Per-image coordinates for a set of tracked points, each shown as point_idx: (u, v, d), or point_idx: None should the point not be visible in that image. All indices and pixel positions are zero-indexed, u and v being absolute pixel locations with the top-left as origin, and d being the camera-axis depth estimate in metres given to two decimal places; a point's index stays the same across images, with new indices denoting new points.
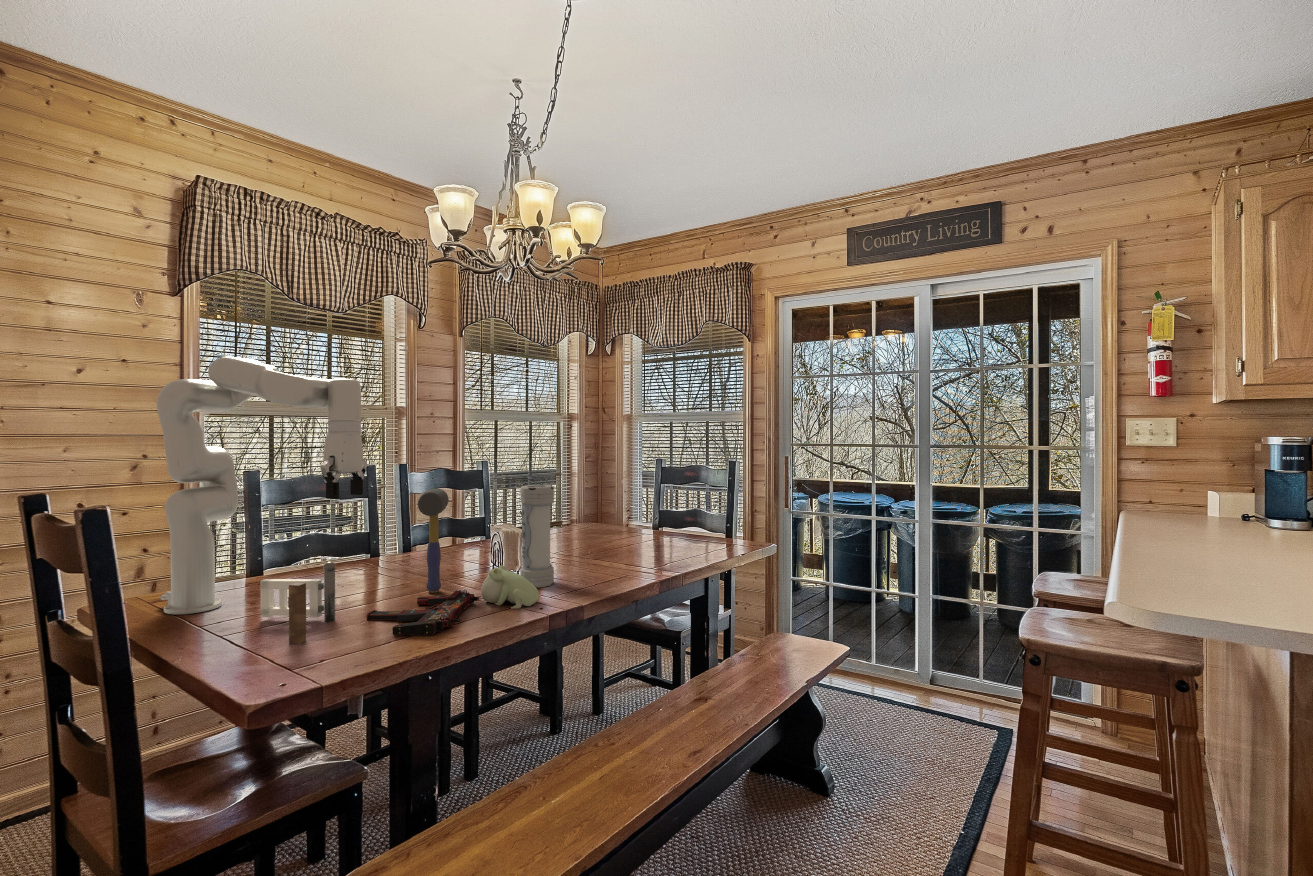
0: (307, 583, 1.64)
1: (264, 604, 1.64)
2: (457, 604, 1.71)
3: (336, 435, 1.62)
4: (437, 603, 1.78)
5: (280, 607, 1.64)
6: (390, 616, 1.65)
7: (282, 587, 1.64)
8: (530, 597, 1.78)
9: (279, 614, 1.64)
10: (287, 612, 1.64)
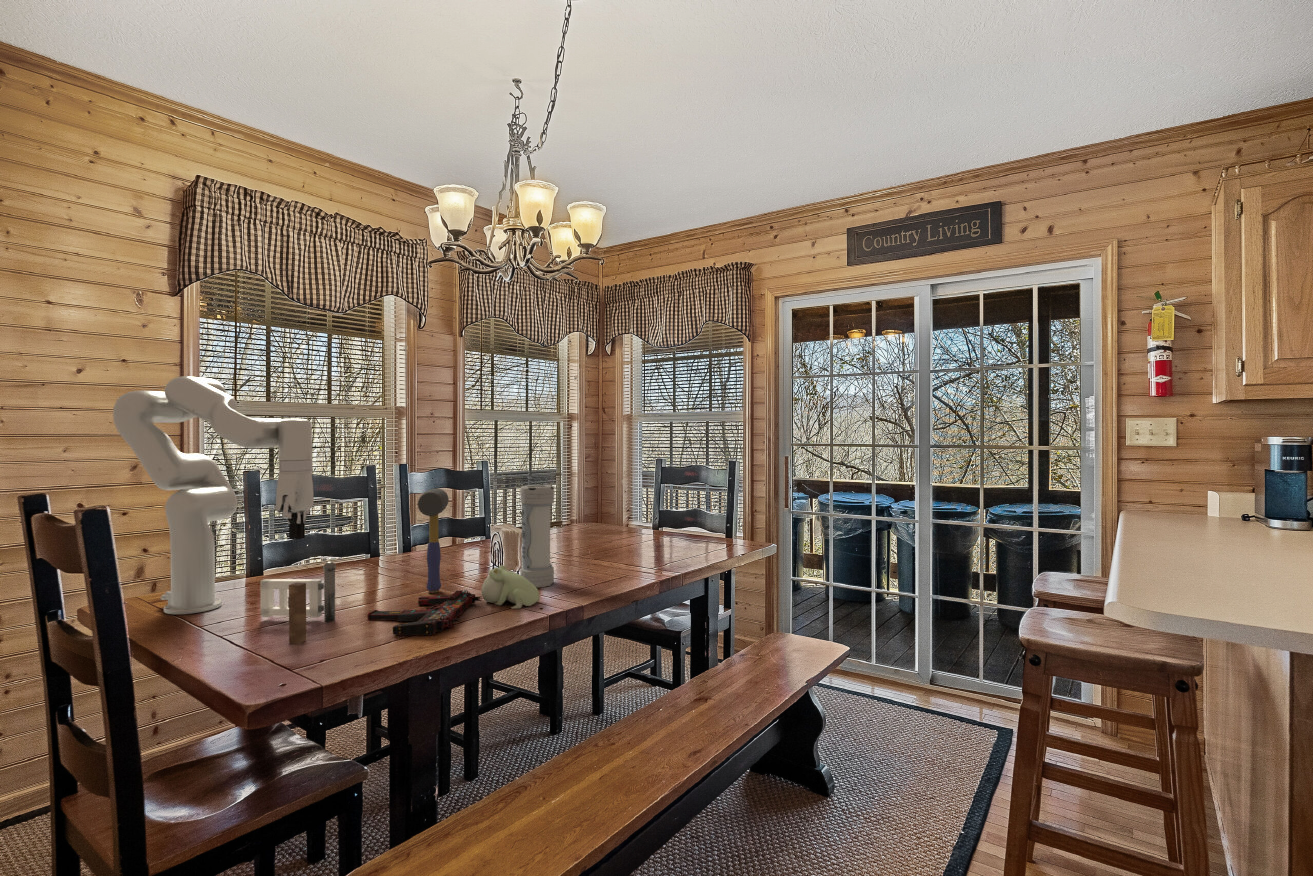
0: (307, 583, 1.64)
1: (264, 604, 1.64)
2: (458, 604, 1.71)
3: (289, 475, 1.66)
4: (438, 603, 1.79)
5: (280, 607, 1.64)
6: (391, 616, 1.65)
7: (282, 587, 1.64)
8: (531, 597, 1.78)
9: (279, 614, 1.64)
10: (287, 612, 1.64)
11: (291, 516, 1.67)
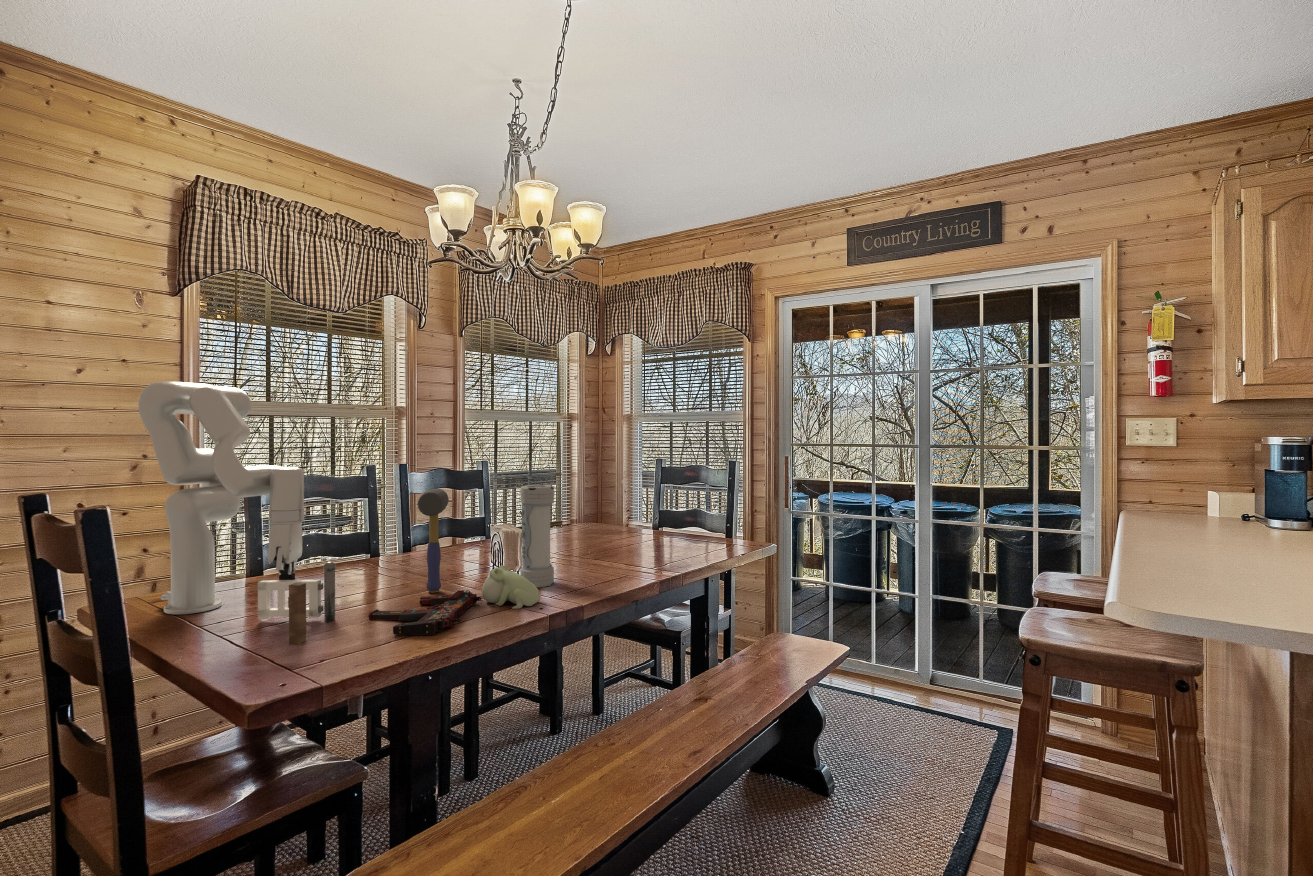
0: (307, 583, 1.63)
1: (262, 605, 1.62)
2: (459, 604, 1.72)
3: (283, 526, 1.62)
4: (439, 603, 1.79)
5: (278, 608, 1.63)
6: (392, 616, 1.65)
7: (280, 588, 1.63)
8: (531, 598, 1.78)
9: (277, 615, 1.63)
10: (286, 613, 1.63)
11: (284, 567, 1.63)
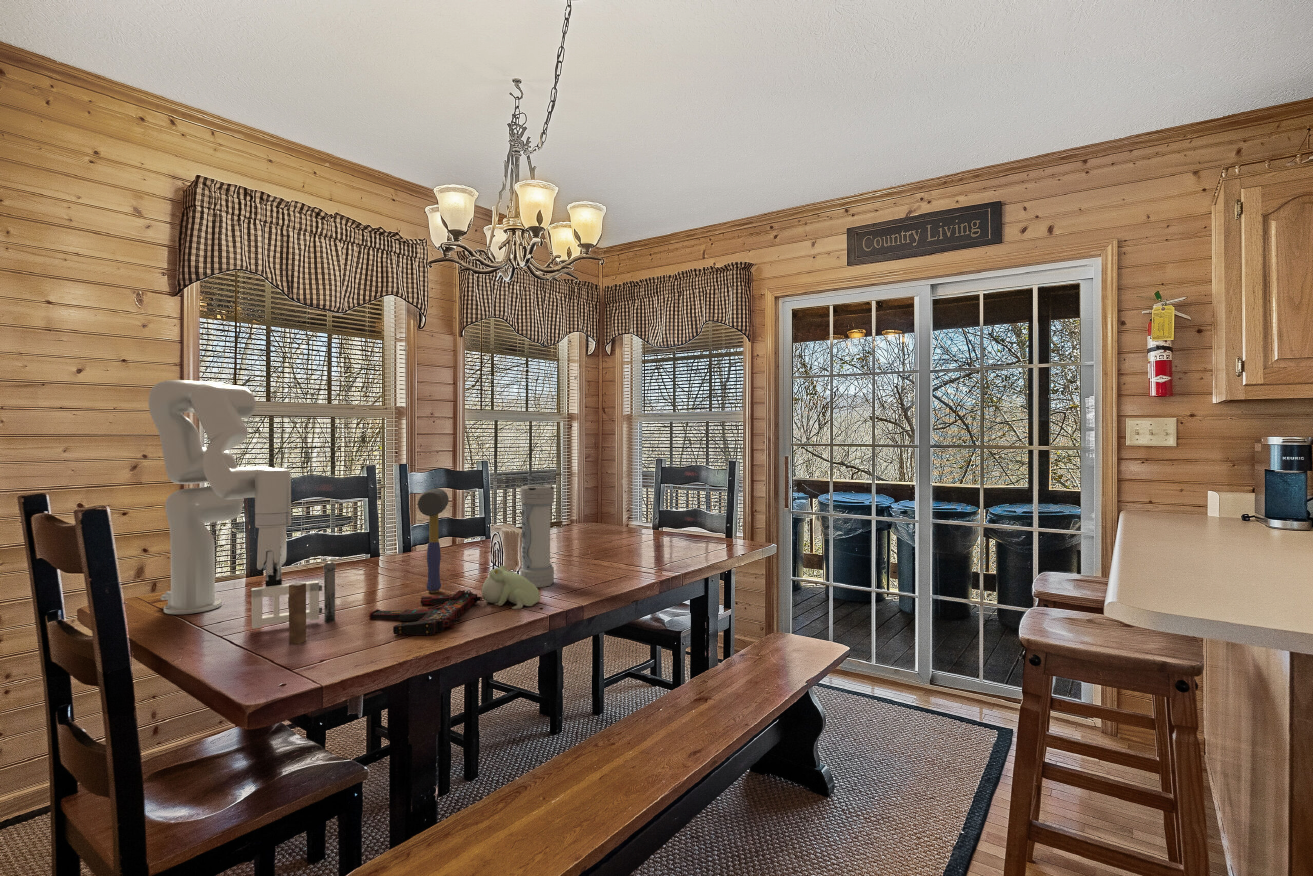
0: (307, 586, 1.61)
1: (256, 614, 1.55)
2: (459, 604, 1.72)
3: (273, 529, 1.57)
4: (440, 603, 1.79)
5: (274, 615, 1.58)
6: (392, 615, 1.65)
7: (278, 593, 1.58)
8: (532, 598, 1.78)
9: (275, 622, 1.57)
10: (284, 618, 1.58)
11: (273, 572, 1.58)
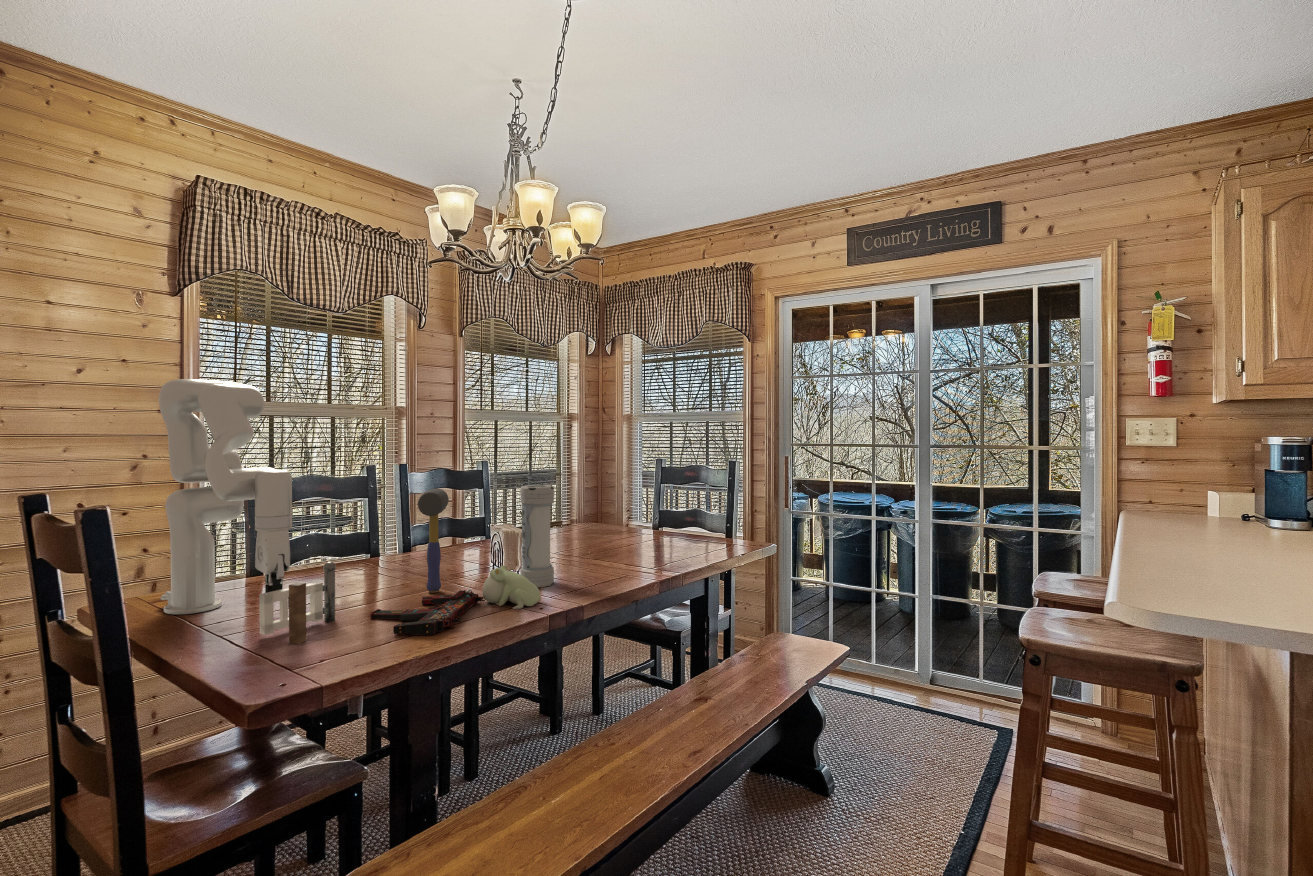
0: (312, 587, 1.60)
1: (268, 619, 1.51)
2: (460, 604, 1.72)
3: (283, 532, 1.53)
4: (441, 603, 1.79)
5: (283, 619, 1.54)
6: (393, 615, 1.65)
7: (287, 597, 1.55)
8: (532, 598, 1.78)
9: (284, 626, 1.54)
10: None
11: None
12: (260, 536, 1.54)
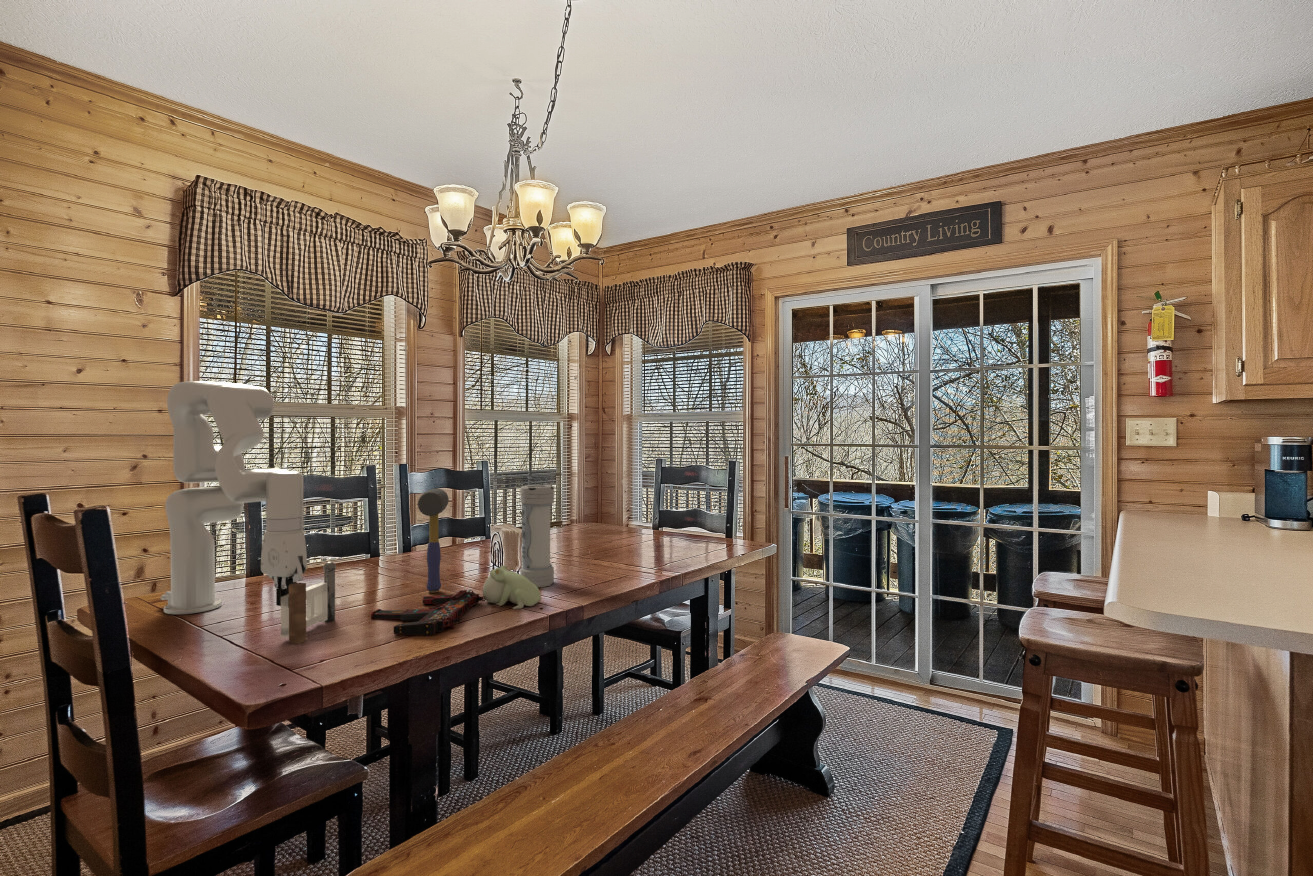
0: (320, 587, 1.60)
1: None
2: (460, 604, 1.72)
3: (300, 533, 1.52)
4: (442, 603, 1.79)
5: None
6: (394, 615, 1.65)
7: None
8: (532, 598, 1.78)
9: None
10: (308, 623, 1.55)
11: None
12: (273, 539, 1.51)
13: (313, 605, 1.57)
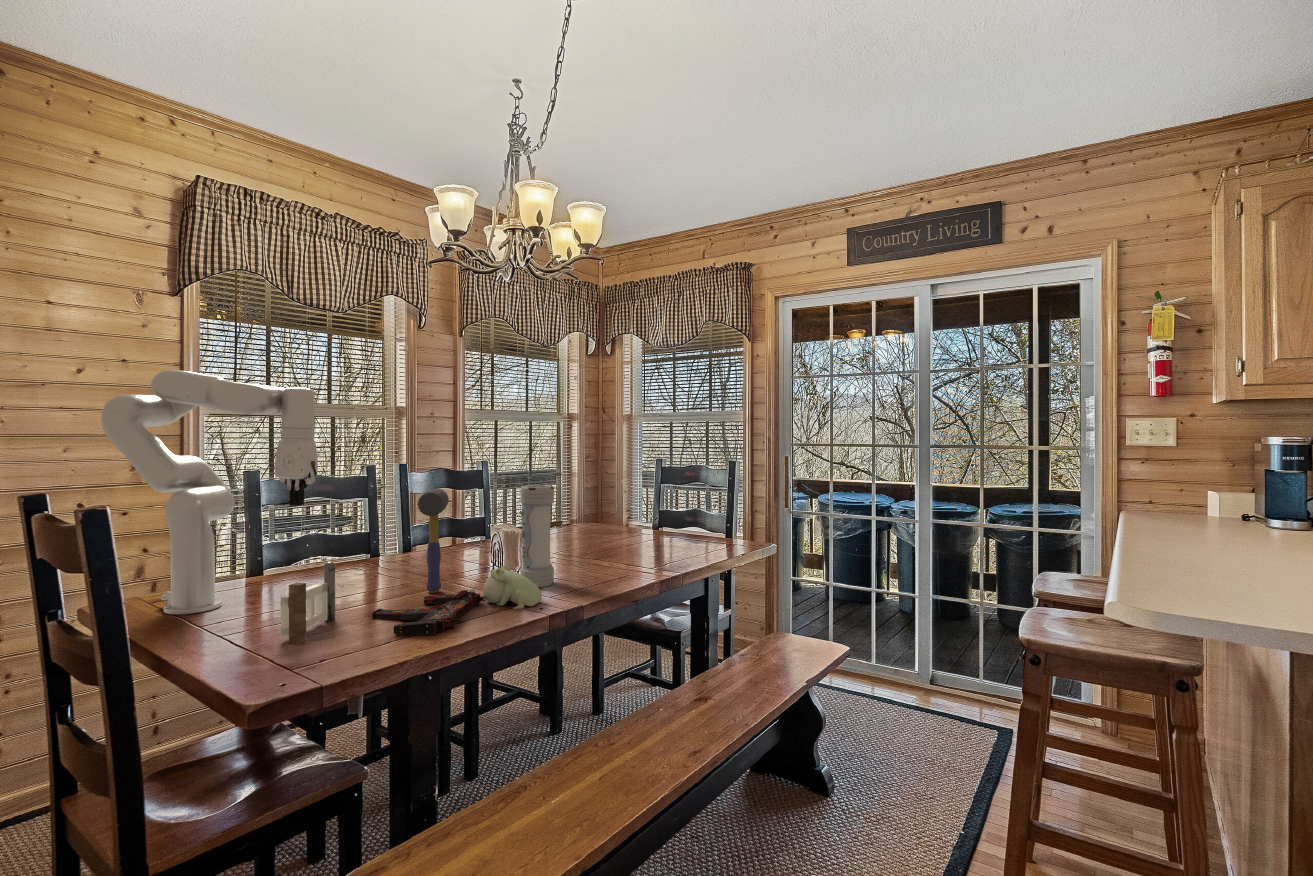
0: (320, 587, 1.60)
1: None
2: (461, 604, 1.72)
3: (313, 442, 1.73)
4: (443, 602, 1.79)
5: None
6: (394, 615, 1.66)
7: None
8: (533, 598, 1.77)
9: None
10: (308, 623, 1.55)
11: None
12: (288, 446, 1.71)
13: (313, 605, 1.57)
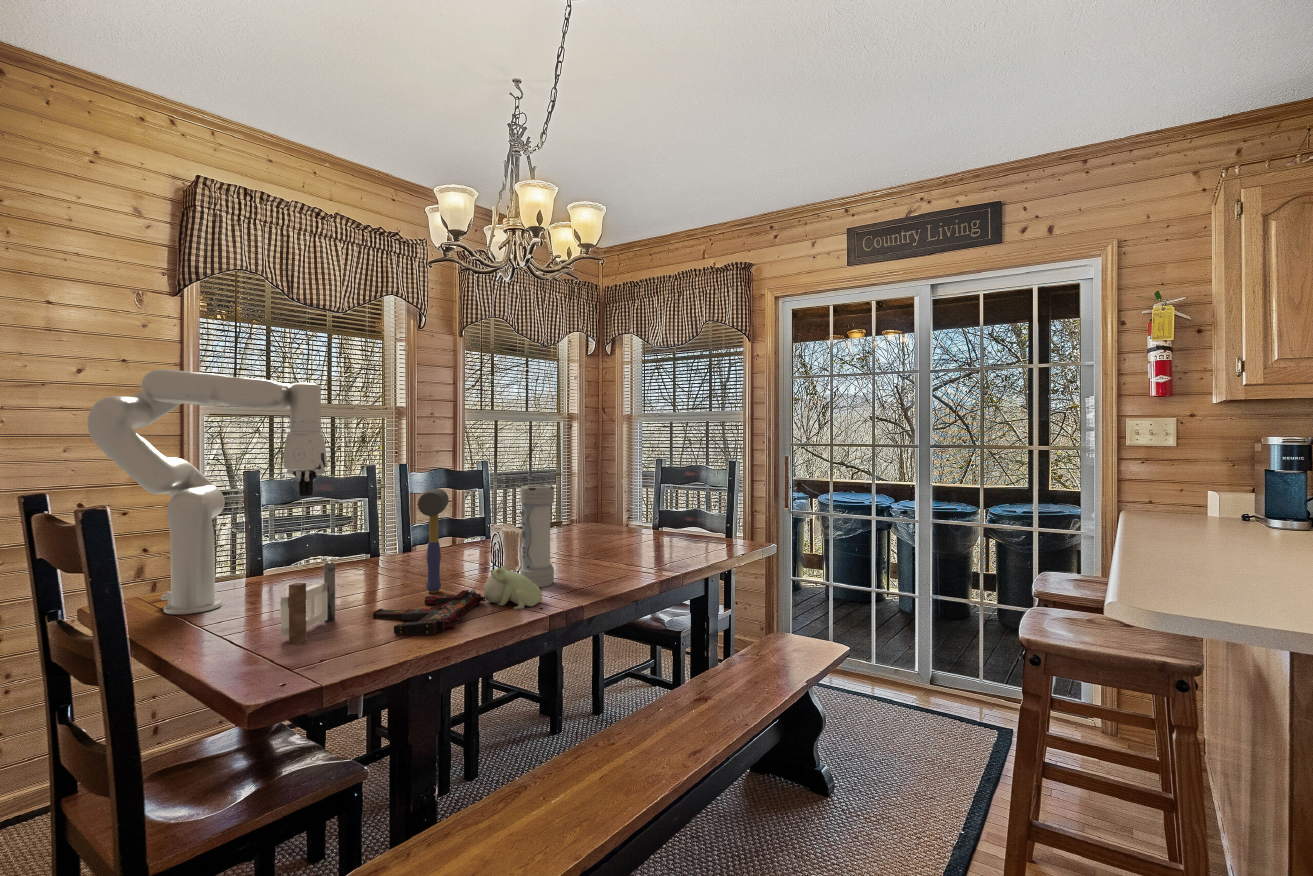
0: (320, 587, 1.60)
1: None
2: (462, 604, 1.72)
3: (321, 434, 1.82)
4: (444, 602, 1.79)
5: None
6: (395, 615, 1.66)
7: None
8: (533, 598, 1.77)
9: None
10: (308, 623, 1.55)
11: None
12: (298, 439, 1.79)
13: (313, 605, 1.57)
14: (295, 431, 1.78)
